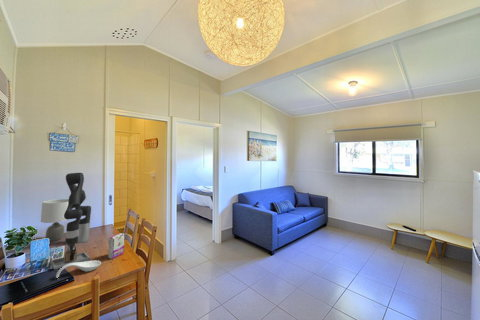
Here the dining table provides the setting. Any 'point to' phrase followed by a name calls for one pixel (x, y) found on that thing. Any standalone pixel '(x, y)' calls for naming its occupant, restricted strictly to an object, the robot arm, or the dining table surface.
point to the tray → (61, 261)
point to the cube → (67, 256)
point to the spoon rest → (82, 266)
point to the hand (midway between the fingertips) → (70, 258)
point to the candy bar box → (116, 245)
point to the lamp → (54, 217)
